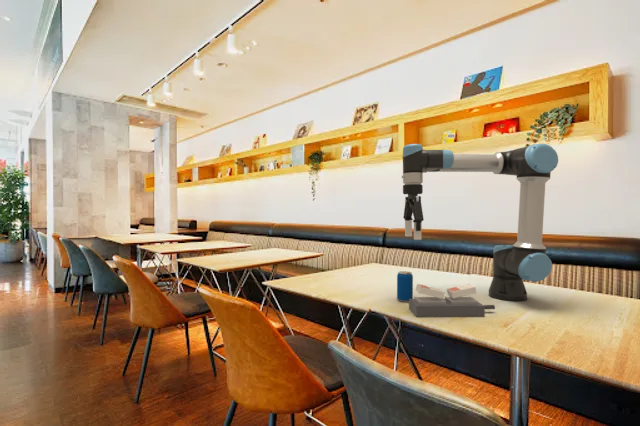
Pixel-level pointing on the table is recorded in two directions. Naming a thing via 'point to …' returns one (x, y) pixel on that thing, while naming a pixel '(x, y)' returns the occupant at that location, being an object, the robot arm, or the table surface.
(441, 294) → the rocker
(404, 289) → the beverage can
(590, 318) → the table surface
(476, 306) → the power strip
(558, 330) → the table surface
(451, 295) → the rocker
